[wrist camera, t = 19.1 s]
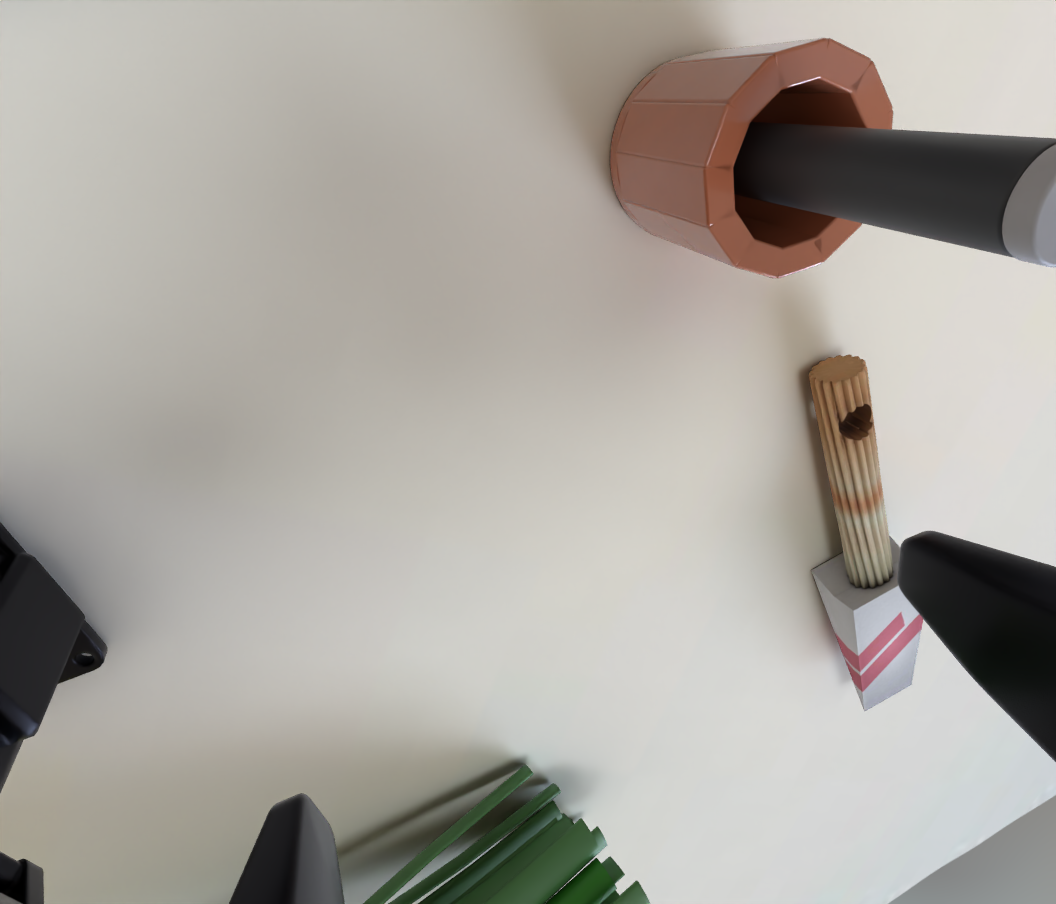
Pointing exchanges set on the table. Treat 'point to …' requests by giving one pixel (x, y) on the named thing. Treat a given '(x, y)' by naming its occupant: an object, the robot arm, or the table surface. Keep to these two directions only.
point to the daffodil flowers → (518, 860)
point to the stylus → (911, 182)
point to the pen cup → (737, 147)
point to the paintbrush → (861, 540)
